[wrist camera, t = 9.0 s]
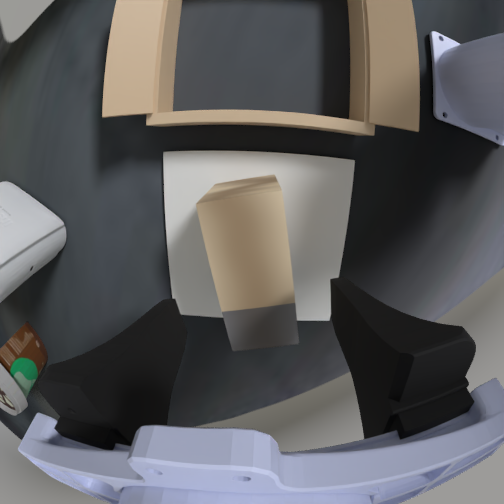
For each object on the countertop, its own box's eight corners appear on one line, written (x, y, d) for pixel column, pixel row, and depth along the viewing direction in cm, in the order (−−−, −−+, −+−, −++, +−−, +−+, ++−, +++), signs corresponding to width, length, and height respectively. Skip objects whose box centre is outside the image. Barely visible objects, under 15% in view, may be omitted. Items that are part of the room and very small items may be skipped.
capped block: (274, 174, 18) (282, 190, 12) (289, 292, 21) (298, 343, 16) (215, 183, 18) (195, 204, 13) (238, 298, 22) (232, 351, 16)
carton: (382, -9, 12) (407, -33, 7) (387, 141, 17) (422, 144, 12) (148, -19, 12) (126, -46, 7) (132, 129, 17) (97, 129, 13)
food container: (45, 380, 30) (17, 424, 20) (17, 353, 28) (-15, 394, 19) (63, 350, 26) (25, 407, 17) (29, 315, 24) (-17, 366, 15)
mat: (353, 159, 18) (355, 160, 17) (328, 317, 23) (329, 320, 22) (165, 151, 18) (163, 151, 17) (175, 311, 23) (174, 313, 22)
